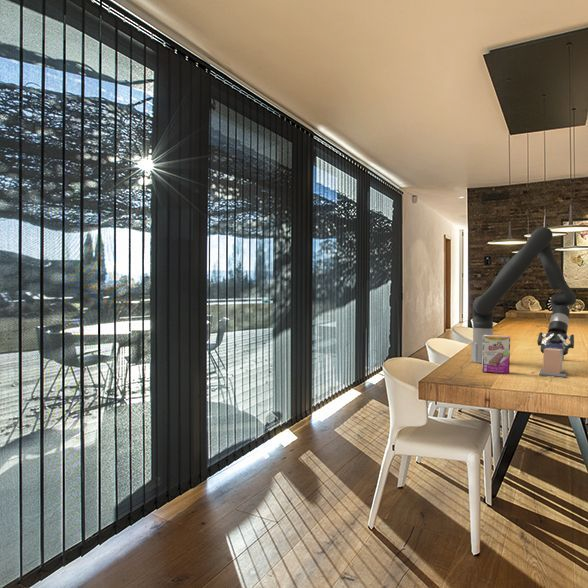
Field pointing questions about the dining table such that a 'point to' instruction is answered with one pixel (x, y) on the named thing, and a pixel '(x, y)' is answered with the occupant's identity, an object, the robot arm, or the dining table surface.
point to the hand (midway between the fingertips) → (553, 353)
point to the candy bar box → (496, 354)
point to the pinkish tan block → (553, 360)
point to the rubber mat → (553, 373)
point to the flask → (556, 347)
